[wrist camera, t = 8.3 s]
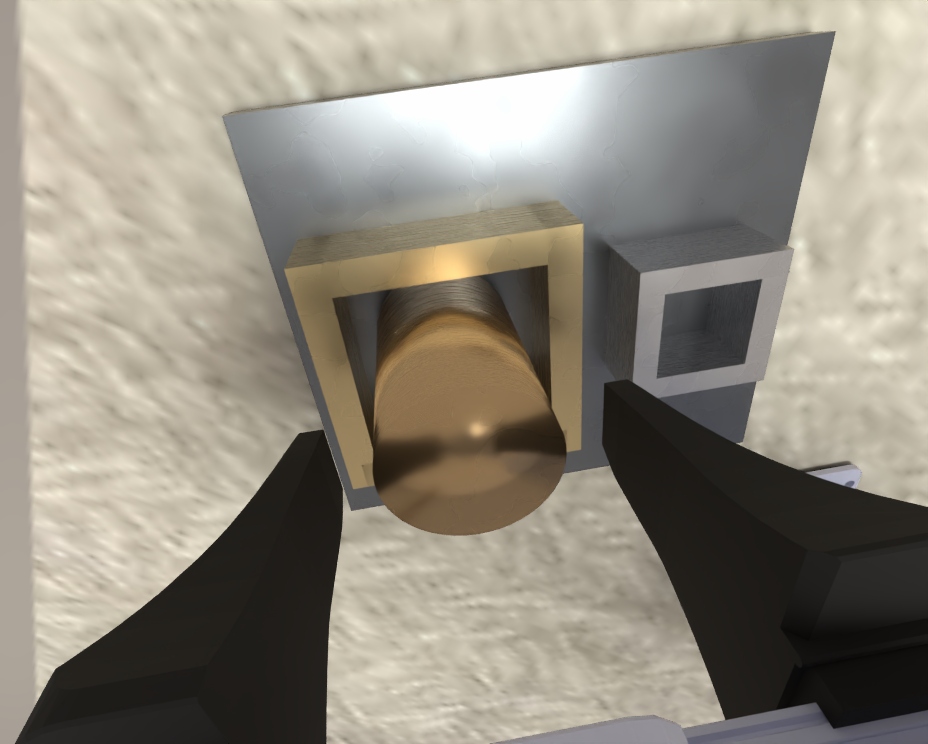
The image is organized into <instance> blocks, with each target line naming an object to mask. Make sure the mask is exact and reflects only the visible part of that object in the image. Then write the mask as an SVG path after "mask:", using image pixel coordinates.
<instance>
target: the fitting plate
mask: <svg viewBox="0 0 928 744" xmlns="http://www.w3.org/2000/svg"><path fill="white" fill-rule="evenodd" d="M835 32H836V31H829V32H808V33H801V34H794V35H786V36H779V37H772V38H765V39H757V40H750V41H743V42H736V43H728V44H721V45H714V46H707V47H699V48H692V49H685V50H678V51H671V52H663V53H656V54H649V55H642V56H634V57H627V58H620V59H613V60H605V61H598V62H591V63H584V64H576V65H569V66H562V67H555V68H548V69H540V70H533V71H526V72H519V73H511V74H504V75H497V76H490V77H482V78H475V79H468V80H461V81H453V82H446V83H439V84H432V85H425V86H417V87H410V88H403V89H396V90H388V91H381V92H374V93H367V94H359V95H352V96H345V97H338V98H330V99H323V100H316V101H309V102H301V103H294V104H287V105H280V106H273V107H265V108H258V109H251V110H244V111H236V112H231V113H228V114H226V115H224V116H222V117H223V120H224V123H225V126H226V130H227V133H228V136H229V139H230V142H231V145H232V148H233V151H234V154H235V157H236V160H237V163H238V166H239V169H240V172H241V175H242V178H243V181H244V184H245V188H246V191H247V194H248V197H249V200H250V203H251V206H252V209H253V212H254V215H255V218H256V221H257V224H258V227H259V230H260V233H261V236H262V239H263V242H264V246H265V249H266V252H267V255H268V258H269V261H270V264H271V267H272V270H273V273H274V276H275V279H276V282H277V285H278V288H279V291H280V294H281V297H282V300H283V304H284V307H285V310H286V313H287V316H288V319H289V322H290V325H291V328H292V331H293V334H294V337H295V340H296V343H297V346H298V349H299V352H300V355H301V358H302V362H303V365H304V368H305V371H306V374H307V377H308V380H309V383H310V386H311V389H312V392H313V395H314V398H315V401H316V404H317V407H318V410H319V413H320V417H321V420H322V423H323V426H324V429H325V432H326V435H327V438H328V441H329V444H330V447H331V450H332V453H333V456H334V459H335V462H336V465H337V468H338V471H339V475H340V478H341V481H342V484H343V487H344V490H345V493H346V496H347V499H348V502H349V505H350V508H351V511H353V510H359V509H364V508H370V507H376V506H382V505H385V504H384V503H383V502H382V500H381V498H380V497H379V495H378V493H377V491H376V487H375V484H374V480H373V473H372V470H373V439H374V408H375V376H376V345H377V321H378V316H379V312H380V309H381V307H382V305H383V303H384V301H385V299H386V298H387V296H388V295H389V293H390V292H391V291H392V290H393V289H395V288H401V287H407V286H414V285H420V284H427V283H433V282H439V281H446V280H452V279H459V278H465V277H471V276H478V275H479V276H480V277H482V278H483V279H485V280H486V281H487V282H489V283H490V284H491V285H492V286H493V287H494V288H495V290H496V291H497V292H498V293H499V295H500V297H501V298H502V300H503V302H504V304H505V307H506V309H507V311H508V313H509V315H510V318H511V320H512V322H513V324H514V326H515V328H516V331H517V333H518V335H519V337H520V339H521V341H522V344H523V346H524V348H525V350H526V352H527V355H528V357H529V359H530V361H531V363H532V365H533V368H534V370H535V372H536V374H537V376H538V378H539V381H540V383H541V385H542V387H543V389H544V392H545V394H546V396H547V398H548V400H549V402H550V405H551V407H552V409H553V411H554V413H555V415H556V418H557V420H558V422H559V424H560V426H561V429H562V431H563V433H564V437H565V441H566V449H567V456H566V464H565V468H564V471H563V474H564V473H569V472H575V471H581V470H587V469H592V468H598V467H604V466H609V465H610V464H609V461H608V459H607V456H606V454H605V451H604V448H603V446H602V429H603V402H604V383H607V382H613V381H619V380H625V379H628V380H630V381H632V382H633V383H635V384H636V385H638V386H640V387H641V388H643V389H644V390H646V391H647V392H649V393H650V394H652V395H654V396H655V397H657V398H658V399H660V400H661V401H663V402H664V403H666V404H667V405H669V406H671V407H672V408H674V409H675V410H677V411H679V412H680V413H682V414H684V415H685V416H687V417H688V418H690V419H692V420H694V421H695V422H697V423H699V424H700V425H702V426H704V427H706V428H707V429H709V430H711V431H713V432H715V433H717V434H719V435H720V436H722V437H724V438H726V439H728V440H730V441H732V442H734V443H740V442H743V438H744V434H745V430H746V425H747V421H748V416H749V412H750V407H751V403H752V399H753V394H754V390H755V385H756V381H760V380H764V375H765V371H766V367H767V363H768V358H769V354H770V350H771V346H772V341H773V337H774V333H775V329H776V324H777V320H778V316H779V312H780V307H781V303H782V299H783V294H784V290H785V286H786V282H787V277H788V273H789V269H790V265H791V260H792V256H793V252H794V249H793V248H791V247H789V246H787V244H788V240H789V235H790V231H791V226H792V222H793V218H794V213H795V209H796V204H797V200H798V195H799V191H800V187H801V182H802V178H803V173H804V169H805V164H806V160H807V156H808V151H809V147H810V142H811V138H812V134H813V129H814V125H815V120H816V116H817V111H818V107H819V103H820V98H821V94H822V89H823V85H824V81H825V76H826V72H827V67H828V63H829V58H830V54H831V50H832V45H833V41H834V36H835Z"/></svg>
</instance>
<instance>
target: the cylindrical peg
mask: <svg viewBox="0 0 928 744" xmlns="http://www.w3.org/2000/svg"><path fill="white" fill-rule="evenodd" d="M566 456H567V449H566V441H565V437H564V433H563V431H562V429H561V426H560V424H559V422H558V420H557V418H556V415H555V413H554V411H553V409H552V407H551V405H550V402H549V400H548V398H547V396H546V394H545V392H544V389H543V387H542V385H541V383H540V381H539V378H538V376H537V374H536V372H535V370H534V368H533V365H532V363H531V361H530V359H529V357H528V355H527V352H526V350H525V348H524V346H523V344H522V341H521V339H520V337H519V335H518V333H517V331H516V328H515V326H514V324H513V322H512V320H511V318H510V315H509V313H508V311H507V309H506V307H505V304H504V302H503V300H502V298H501V297H500V295H499V293H498V292H497V291H496V290H495V288H494V287H493V286H492V285H491V284H490V283H489V282H487V281H486V280H485V279H483V278H482V277H480V276H479V275H478V276H471V277H465V278H459V279H452V280H446V281H439V282H433V283H427V284H420V285H414V286H407V287H401V288H395V289H393V290H392V291H391V292H390V293H389V295H388V296H387V298H386V299H385V301H384V303H383V305H382V307H381V309H380V312H379V316H378V321H377V345H376V376H375V408H374V439H373V470H372V473H373V480H374V484H375V487H376V491H377V493H378V495H379V497H380V498H381V500H382V502H383V503H384V504H385V505H386V507H387V508H388V509H389V510H390V511H391V512H392V513H393V514H394V515H395V516H397V517H398V518H400V519H401V520H402V521H404V522H406V523H408V524H410V525H411V526H414V527H416V528H419V529H421V530H424V531H428V532H431V533H437V534H442V535H455V536H456V535H473V534H480V533H485V532H490V531H493V530H497V529H500V528H503V527H505V526H508V525H510V524H512V523H514V522H516V521H518V520H520V519H522V518H524V517H525V516H527V515H528V514H530V513H531V512H533V511H534V510H535V509H536V508H538V507H539V506H540V505H541V504H542V503H543V502H544V501H545V500H546V499H547V498H548V497H549V496H550V494H551V493H552V492H553V491H554V489H555V487H556V486H557V484H558V483H559V481H560V478H561V476H562V474H563V471H564V468H565V464H566Z"/></svg>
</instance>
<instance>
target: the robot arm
mask: <svg viewBox="0 0 928 744" xmlns="http://www.w3.org/2000/svg"><path fill="white" fill-rule="evenodd" d="M602 446H603V448H604V451H605V454H606V456H607V459H608V461H609V464H610V466H611V469H612V471H613V474H614V476H615V478H616V480H617V482H618V484H619V485H620V487H621V489H622V491H623V493H624V494H625V496H626V498H627V500H628V502H629V503H630V505H631V507H632V509H633V510H634V512H635V514H636V516H637V517H638V519H639V521H640V523H641V524H642V526H643V528H644V530H645V531H646V533H647V535H648V537H649V538H650V540H651V542H652V544H653V545H654V547H655V549H656V551H657V553H658V555H659V557H660V559H661V561H662V562H663V564H664V567H665V569H666V571H667V573H668V576H669V578H670V580H671V583H672V585H673V587H674V589H675V592H676V594H677V596H678V599H679V601H680V603H681V607H682V609H683V611H684V613H685V615H686V618H687V620H688V623H689V625H690V627H691V630H692V632H693V635H694V637H695V640H696V642H697V645H698V647H699V650H700V653H701V655H702V658H703V660H704V663H705V665H706V668H707V671H708V673H709V676H710V678H711V681H712V684H713V686H714V689H715V692H716V695H717V697H718V700H719V703H720V706H721V708H722V711H723V714H724V717H725V720H724V721H719V722H714V723H709V724H704V725H699V726H694V727H688V728H683V729H682V728H681V725H679V724H677V723H675V722H673V721H670V720H667V719H664V718H661V717H658V716H655V715H650V716H634V717H624V718H619V719H614V720H609V721H604V722H598V723H593V724H588V725H583V726H578V727H573V728H568V729H563V730H557V731H552V732H547V733H542V734H537V735H532V736H527V737H522V738H516V739H511V740H506V741H501V742H496V743H491V744H928V507H925V506H921V505H917V504H913V503H908V502H904V501H900V500H896V499H892V498H887V497H883V496H879V495H875V494H871V493H868V492H864V491H861V490H857V489H856V487H857V484H858V482H859V479H860V477H861V473H862V472H861V470H860V469H859V468H858V467H857V466H855V465H845V466H839V467H834V468H828V469H823V470H817V471H811V472H806V473H805V472H802V471H799V470H797V469H794V468H791V467H789V466H786V465H783V464H781V463H778V462H776V461H774V460H771V459H769V458H766V457H764V456H762V455H760V454H758V453H755V452H753V451H751V450H749V449H746V448H744V447H742V446H740V445H738V444H736V443H734V442H732V441H730V440H728V439H726V438H724V437H722V436H720V435H719V434H717V433H715V432H713V431H711V430H709V429H707V428H706V427H704V426H702V425H700V424H699V423H697V422H695V421H694V420H692V419H690V418H688V417H687V416H685V415H684V414H682V413H680V412H679V411H677V410H675V409H674V408H672V407H671V406H669V405H667V404H666V403H664V402H663V401H661V400H660V399H658V398H657V397H655V396H654V395H652V394H650V393H649V392H647V391H646V390H644V389H643V388H641V387H640V386H638V385H636V384H635V383H633V382H632V381H630V380H628V379H625V380H619V381H613V382H607V383H604V402H603V429H602ZM342 520H343V488H342V485H341V482H340V479H339V476H338V473H337V470H336V467H335V464H334V461H333V457H332V454H331V451H330V448H329V445H328V442H327V439H326V436H325V433H324V430H317V431H311V432H305V433H299V434H298V436H297V437H296V438H295V440H294V441H293V442H292V444H291V445H290V447H289V448H288V449H287V451H286V452H285V454H284V455H283V457H282V458H281V460H280V461H279V462H278V464H277V465H276V467H275V468H274V469H273V471H272V472H271V474H270V475H269V476H268V478H267V479H266V480H265V482H264V483H263V484H262V486H261V487H260V489H259V490H258V491H257V493H256V494H255V495H254V497H253V498H252V499H251V500H250V502H249V503H248V504H247V505H246V506H245V508H244V509H243V510H242V511H241V513H240V514H239V515H238V516H237V517H236V519H235V520H234V521H233V522H232V523H231V525H230V526H229V527H228V528H227V529H226V530H225V531H224V532H223V533H222V535H221V536H220V537H219V538H218V539H217V540H216V541H215V542H214V543H213V544H212V545H211V546H210V547H209V548H208V549H207V550H206V551H205V552H204V553H203V554H202V555H201V556H200V557H199V558H198V559H197V560H196V561H195V562H194V563H193V564H192V565H190V566H189V567H188V568H187V569H186V570H185V571H184V572H183V573H182V574H180V575H179V576H178V577H177V578H176V579H175V580H174V581H173V582H172V583H171V584H169V585H168V586H167V587H166V588H165V589H164V590H163V591H161V592H160V593H159V594H158V595H157V596H155V597H154V598H153V599H152V600H151V601H149V602H148V603H147V604H146V605H144V606H143V607H142V608H141V609H139V610H138V611H137V612H136V613H134V614H133V615H132V616H130V617H129V618H128V619H126V620H125V621H124V622H123V623H121V624H120V625H119V626H117V627H116V628H114V629H113V630H112V631H110V632H109V633H108V634H106V635H105V636H103V637H102V638H100V639H99V640H98V641H96V642H95V643H93V644H92V645H90V646H89V647H87V648H86V649H85V650H83V651H82V652H80V653H79V654H77V655H76V656H74V657H73V658H72V659H70V660H69V661H67V662H66V663H64V664H63V665H61V666H59V667H58V668H56V669H55V671H54V673H53V674H52V676H51V678H50V679H49V681H48V683H47V685H46V687H45V689H44V690H43V692H42V694H41V696H40V698H39V700H38V701H37V703H36V705H35V707H34V709H33V711H32V713H31V715H30V716H29V718H28V720H27V722H26V724H25V726H24V728H23V730H22V731H21V733H20V735H19V737H18V739H17V741H16V743H15V744H326V706H327V663H328V638H329V621H330V610H331V602H332V595H333V589H334V582H335V575H336V568H337V561H338V554H339V547H340V539H341V532H342Z"/></svg>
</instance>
